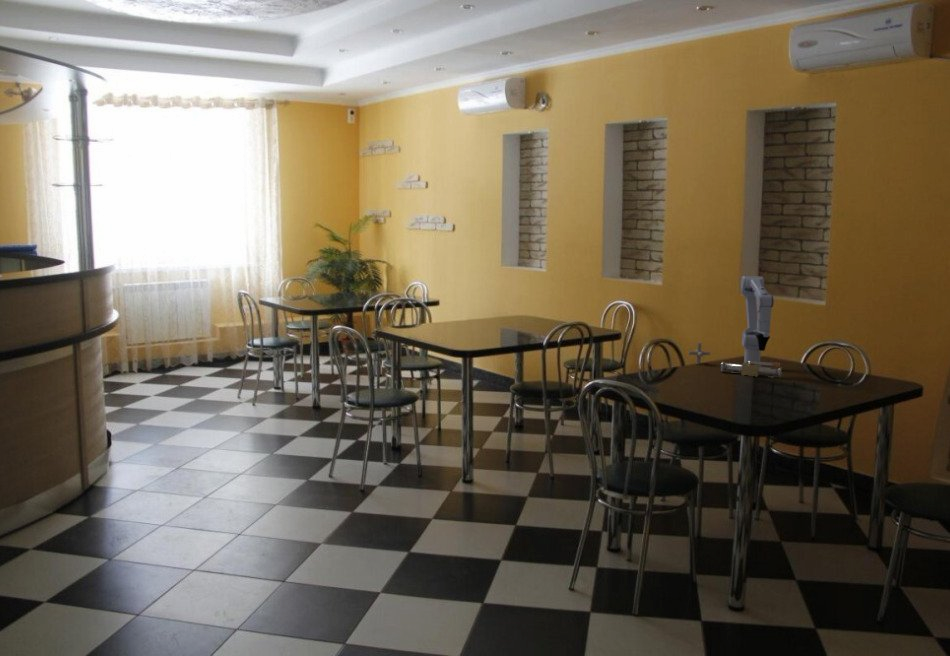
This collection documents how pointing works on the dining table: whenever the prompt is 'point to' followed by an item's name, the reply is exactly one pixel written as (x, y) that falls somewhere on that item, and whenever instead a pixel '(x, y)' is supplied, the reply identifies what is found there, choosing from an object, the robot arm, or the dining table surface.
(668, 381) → the dining table surface
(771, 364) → the lever
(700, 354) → the pipe connector
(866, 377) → the dining table surface
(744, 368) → the valve pipe
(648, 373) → the dining table surface
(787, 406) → the dining table surface
